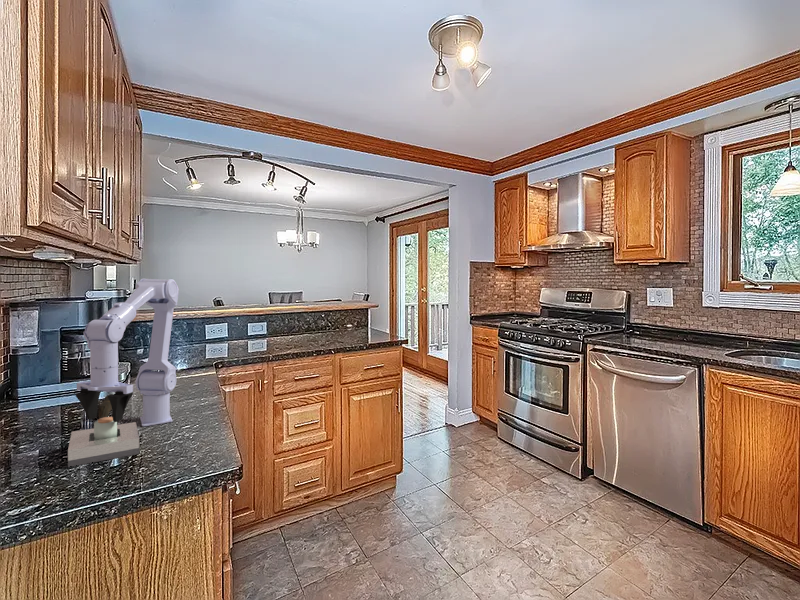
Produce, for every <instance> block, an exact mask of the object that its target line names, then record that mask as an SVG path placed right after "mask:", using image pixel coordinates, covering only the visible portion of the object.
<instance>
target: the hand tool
mask: <svg viewBox="0 0 800 600" xmlns="http://www.w3.org/2000/svg"><path fill="white" fill-rule="evenodd" d="M112 394H113V393H109V394H108V395H106V396H105V397H104V400H102V402H100V403H98V412H97V417H98V419H100V418H103V417H107V416H108V417H110V416H109V414H110V412H111V411H112V406H111V403H110V400H109V398H108V396H109V395H112Z"/></svg>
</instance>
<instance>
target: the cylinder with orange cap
mask: <svg viewBox="0 0 800 600" xmlns="http://www.w3.org/2000/svg"><path fill="white" fill-rule="evenodd" d="M117 425H118V421H117V422H114V421H113V416H108V417H103V418H100V419H99V418H98V419H97V420H95V421H94V422H93V428H94V441H95V440H101V439H107V438H113V437H117Z"/></svg>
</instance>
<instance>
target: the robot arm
mask: <svg viewBox="0 0 800 600" xmlns="http://www.w3.org/2000/svg"><path fill="white" fill-rule="evenodd" d="M179 292H180V288H179V286H178V284H177V282H176V280H175V279H172V278H169V279H165V278H163V279H160V278H145V277H144V278H140V280H139V281H138V282H136V283H135V290H134V292H132V293H131V295H129V297H128V298H127V299H126V300H125V301H122V302H121V301H120V302H115V303H114V304H113V306H112V307H111V308H110V309H108V311H106V312H105V313H103V315H102V316H101V317H100V318H98V319H93V320H91V321H90V322H88V323H87V324H86V325H85V327H84V331H83V337H84V339H85V341H86V343H87V344H86V345H87V348H88V349H89V351H90V354H89V357H90V361H89V362H90V368H89V369H90V381H85V380H82V381H79V382H76V391H79V392H77V393H75V397H76V398H77V400H78V401H79V402H80V404H81V406H82V408H83V410H84V414H85V416H86V419H87V420H93V419H95V418H97V417H98V406H99V400H100V399H99V398H100V396H101V393H102V392H106V393H107V392H108V393H111V394H112V395H110V394H108V395H109V396H108V398H109V400H110V403H111V406H112V410H111V411H112V412H111V413H112V417H113V421H114V422H117V423H118V422H119V421H122V420H123V418H124V414H125V412H126V408H127V406H128V403H129V401H130V400H131V398H132V396H133V395H134V391H133V390H134V384H135V387H136V389H137V391H138V392H139V393H140V395H142V416H140V417H139V419H140V423H141V426H142V427H148V426H149V427H150V426H155V425H162V424H167V423H172V422H173V421H174V420H173V419H172V416H171V408H170V407H171V403H170V402H171V401H170V400H171V398H170V397H171V392H173V390H174V389H175V387H176V385H177V374H176V373H177V372H176V368H177V367H176V366H175V365H173V364H172V363H171V362H170V361H169V349H170V343H171V333H172V326H173V325H172V324H173V318H174V309H175V307H177V306H178V301H179ZM145 304H146V305H147V306H149V307H151V308H152V309H153V310H154V315H153V321H152V329H151V330H152V331H151V336H150V345H149V346H150V347H149V354H148V361H145V363H143V364H142V365H141V366H140V367H139V370H138V373H137V376H136V378H135V381H134V382H135V383H134V384H130V383H125V382H124V383H123V382H121V381H119V341H121V340H122V338H123V337H124V334H125V333H124V332H125V331H126V328H127V326H128V325H129V324H130V323H132V321H134V319H135V318H136V316H137V311H138V310H139V309H140V308H141V307H142V306H143V305H145ZM157 370H158V371H157Z"/></svg>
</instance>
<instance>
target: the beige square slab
mask: <svg viewBox="0 0 800 600" xmlns="http://www.w3.org/2000/svg"><path fill="white" fill-rule="evenodd" d="M138 430H139V429H138V426H137V422H136V421H134V422H127V423H122V424H121V423H120V424H117V437H113V438H107V439H101V440H95V441H94V427H93V428H87V429H80V430H75V431H71V433H70V438H69V442H68V443H69V444H68V449H67V468H71V467H70V466H72V467H76V465H77V466H82V465H86V464H87V463H88V464H92V462H93V463H97V462H104V461H109V460H114V459H118V458H124V457H131V456H134V455H139V454H140V436H139V431H138ZM81 464H82V465H81ZM88 464H87V465H88Z"/></svg>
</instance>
